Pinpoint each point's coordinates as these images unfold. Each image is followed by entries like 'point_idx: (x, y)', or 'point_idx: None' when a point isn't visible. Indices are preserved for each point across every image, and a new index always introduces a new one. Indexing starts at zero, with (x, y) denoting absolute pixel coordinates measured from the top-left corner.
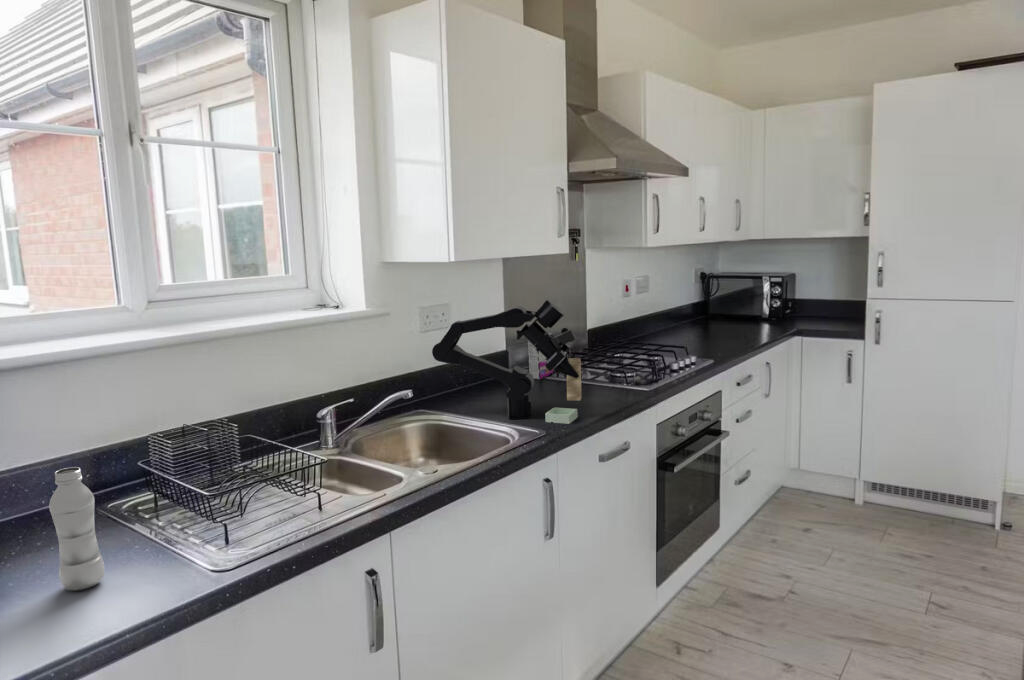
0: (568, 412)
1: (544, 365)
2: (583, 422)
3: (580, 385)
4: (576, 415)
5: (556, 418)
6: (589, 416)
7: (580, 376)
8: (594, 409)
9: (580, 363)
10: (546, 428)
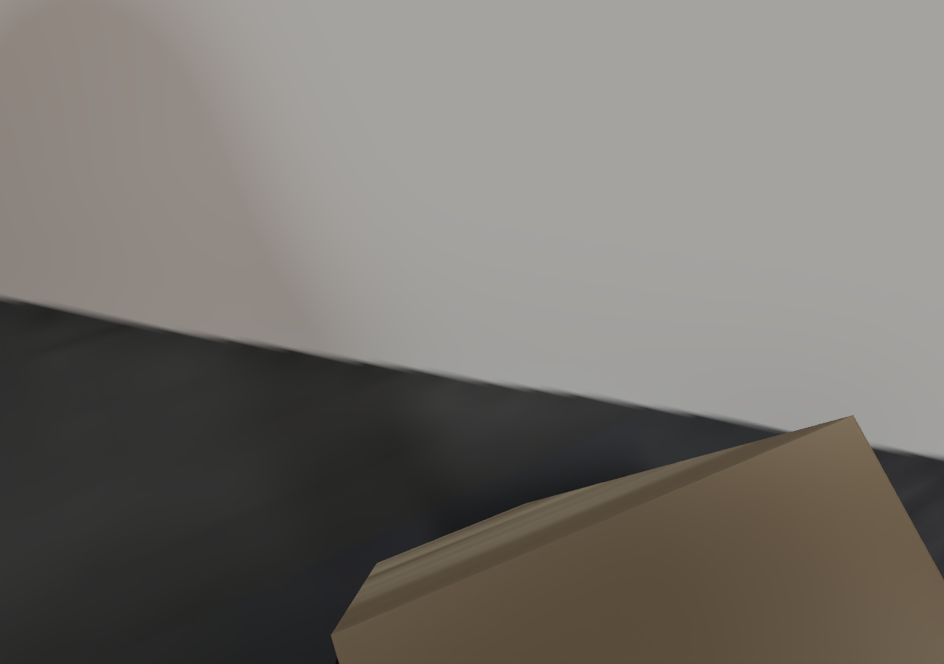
0: None
1: None
2: (593, 439)
3: (522, 510)
4: None
5: None
6: (403, 468)
7: (514, 520)
8: (139, 528)
9: (490, 551)
10: None
